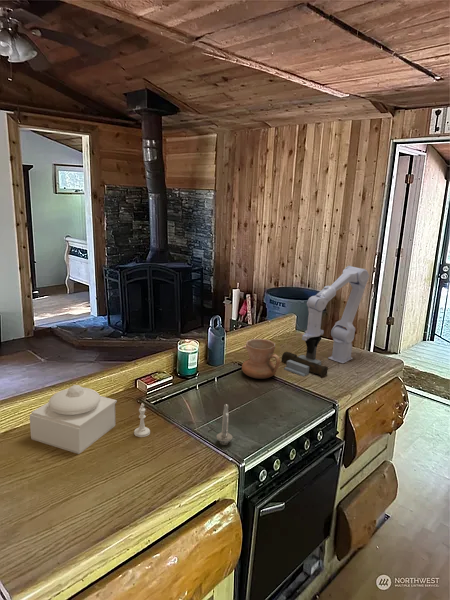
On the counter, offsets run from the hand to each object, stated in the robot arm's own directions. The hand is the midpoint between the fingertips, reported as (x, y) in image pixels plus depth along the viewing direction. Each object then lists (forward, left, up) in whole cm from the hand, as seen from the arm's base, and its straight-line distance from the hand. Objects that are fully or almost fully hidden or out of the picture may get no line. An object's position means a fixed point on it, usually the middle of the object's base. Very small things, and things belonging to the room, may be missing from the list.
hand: (311, 352), depth 196 cm
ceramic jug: (+26, -8, -7) cm, 28 cm away
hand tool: (+6, 0, -7) cm, 9 cm away
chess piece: (+89, -4, -6) cm, 90 cm away
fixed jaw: (+10, 0, -6) cm, 12 cm away
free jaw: (+1, 0, -6) cm, 6 cm away
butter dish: (+104, -18, -7) cm, 106 cm away
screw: (+74, +17, -6) cm, 76 cm away
